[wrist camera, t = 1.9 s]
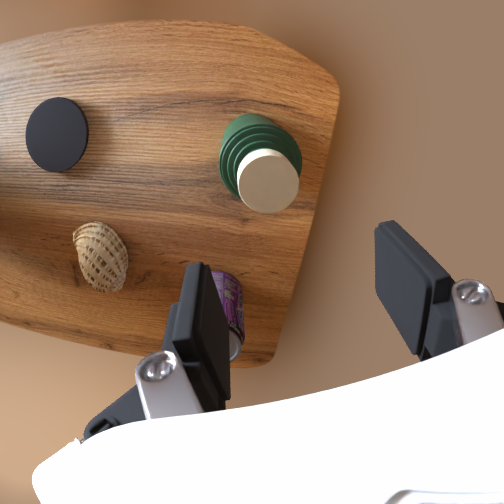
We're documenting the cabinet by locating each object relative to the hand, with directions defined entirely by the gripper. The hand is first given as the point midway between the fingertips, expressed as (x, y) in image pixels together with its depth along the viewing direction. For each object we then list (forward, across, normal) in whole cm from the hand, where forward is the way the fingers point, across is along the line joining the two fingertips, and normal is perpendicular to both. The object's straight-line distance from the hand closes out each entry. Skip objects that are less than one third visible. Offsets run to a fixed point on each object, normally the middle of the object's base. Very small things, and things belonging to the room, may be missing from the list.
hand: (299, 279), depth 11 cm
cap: (+11, 0, 0) cm, 11 cm away
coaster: (+29, +24, -9) cm, 39 cm away
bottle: (+29, 0, 0) cm, 29 cm away
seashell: (+29, +23, +9) cm, 38 cm away
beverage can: (+29, +9, +19) cm, 36 cm away
